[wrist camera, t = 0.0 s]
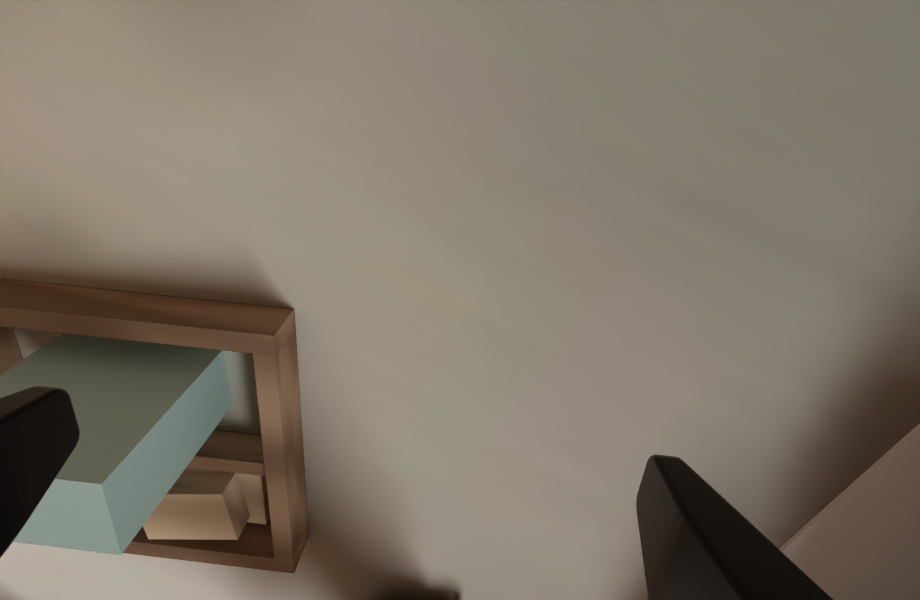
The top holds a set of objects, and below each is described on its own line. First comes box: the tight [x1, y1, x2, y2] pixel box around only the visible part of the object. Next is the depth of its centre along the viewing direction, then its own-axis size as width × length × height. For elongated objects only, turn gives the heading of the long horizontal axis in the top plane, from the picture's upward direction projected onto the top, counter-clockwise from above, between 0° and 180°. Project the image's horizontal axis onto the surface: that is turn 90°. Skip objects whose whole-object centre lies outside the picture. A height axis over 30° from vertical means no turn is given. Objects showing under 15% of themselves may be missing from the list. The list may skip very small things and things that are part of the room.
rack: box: [0, 279, 309, 573], centre depth 28 cm, size 15×15×2 cm
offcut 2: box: [183, 467, 270, 524], centre depth 30 cm, size 4×7×2 cm, turn 85°
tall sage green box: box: [0, 333, 231, 555], centre depth 23 cm, size 4×8×9 cm, turn 86°
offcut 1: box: [143, 472, 250, 540], centre depth 29 cm, size 3×5×2 cm, turn 94°
